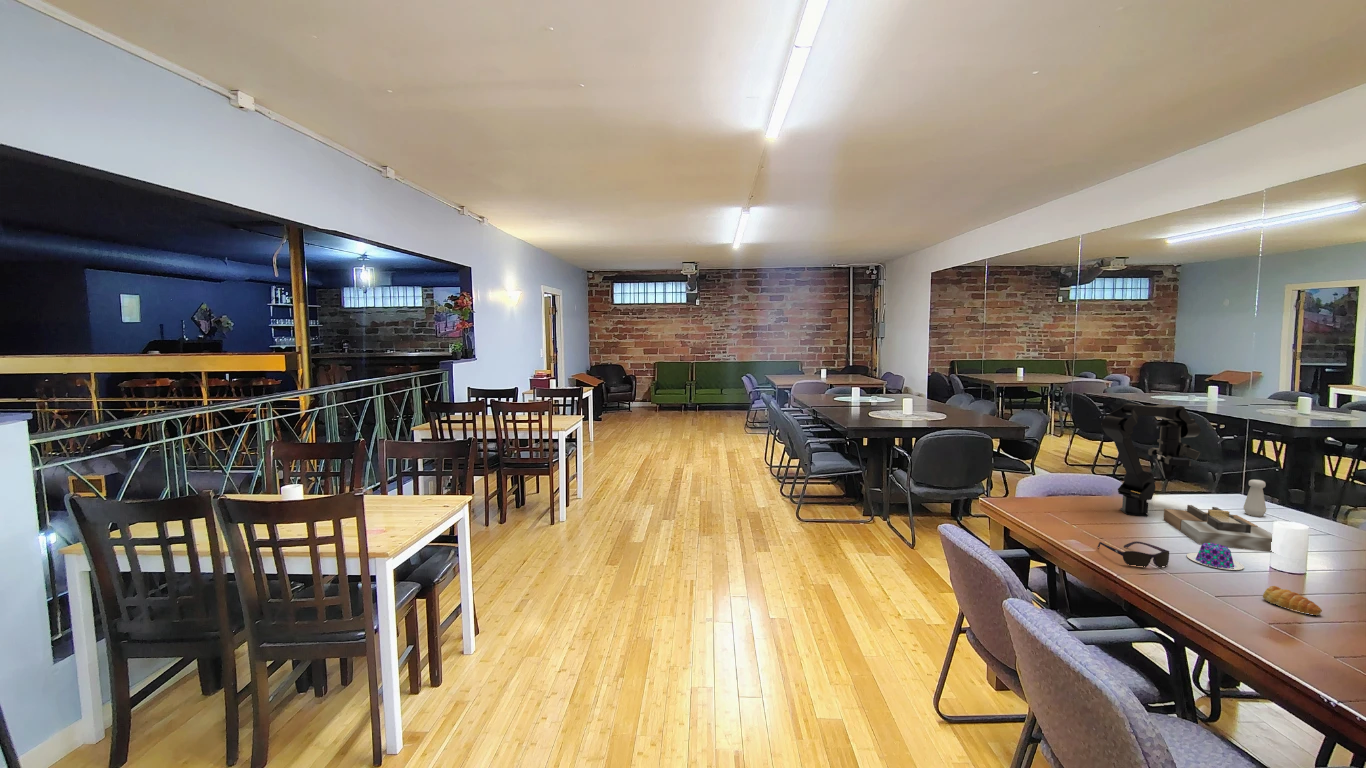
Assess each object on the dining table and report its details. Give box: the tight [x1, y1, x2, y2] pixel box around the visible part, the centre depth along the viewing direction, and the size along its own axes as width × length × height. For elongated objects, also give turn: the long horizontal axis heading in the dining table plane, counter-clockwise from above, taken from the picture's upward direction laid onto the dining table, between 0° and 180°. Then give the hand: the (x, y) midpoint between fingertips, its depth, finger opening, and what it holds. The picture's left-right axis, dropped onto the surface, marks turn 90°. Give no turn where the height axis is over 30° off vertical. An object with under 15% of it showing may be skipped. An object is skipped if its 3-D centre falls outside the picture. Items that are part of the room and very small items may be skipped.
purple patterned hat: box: [1186, 543, 1245, 571], centre depth 158 cm, size 12×12×5 cm
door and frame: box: [1163, 504, 1273, 552], centre depth 179 cm, size 20×24×6 cm
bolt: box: [1207, 508, 1241, 524], centre depth 176 cm, size 5×8×4 cm, turn 159°
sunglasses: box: [1097, 541, 1170, 568], centre depth 162 cm, size 14×16×5 cm
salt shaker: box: [1243, 479, 1267, 518], centre depth 197 cm, size 6×6×13 cm
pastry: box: [1262, 585, 1323, 616], centre depth 132 cm, size 9×7×4 cm
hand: (1166, 479), depth 203 cm, fingers closed
